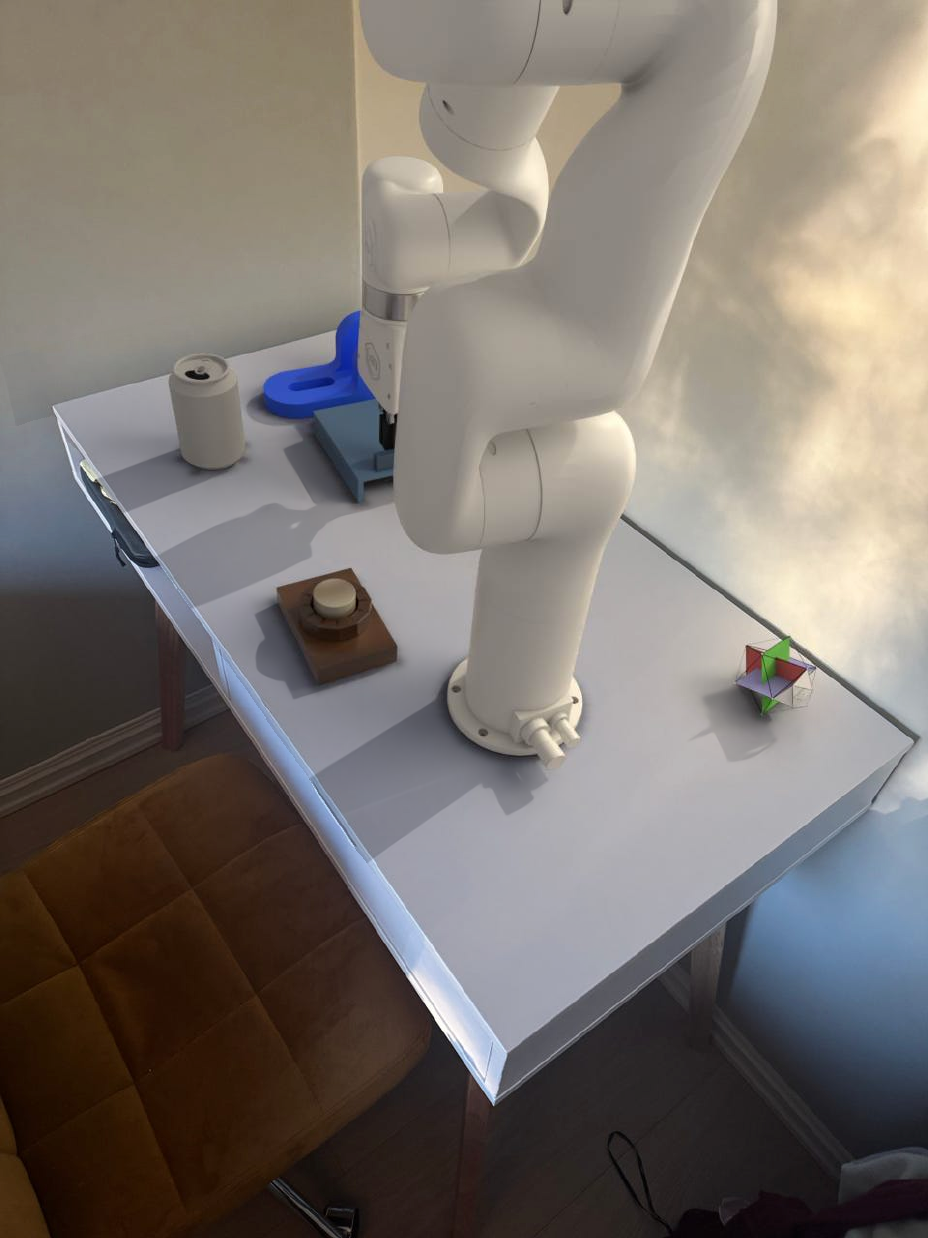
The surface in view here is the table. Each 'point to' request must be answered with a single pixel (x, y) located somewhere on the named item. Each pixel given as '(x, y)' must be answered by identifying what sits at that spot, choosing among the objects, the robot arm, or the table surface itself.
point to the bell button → (334, 599)
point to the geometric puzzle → (777, 676)
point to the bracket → (321, 379)
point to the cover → (354, 443)
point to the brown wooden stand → (336, 631)
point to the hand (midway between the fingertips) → (394, 444)
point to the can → (207, 411)
